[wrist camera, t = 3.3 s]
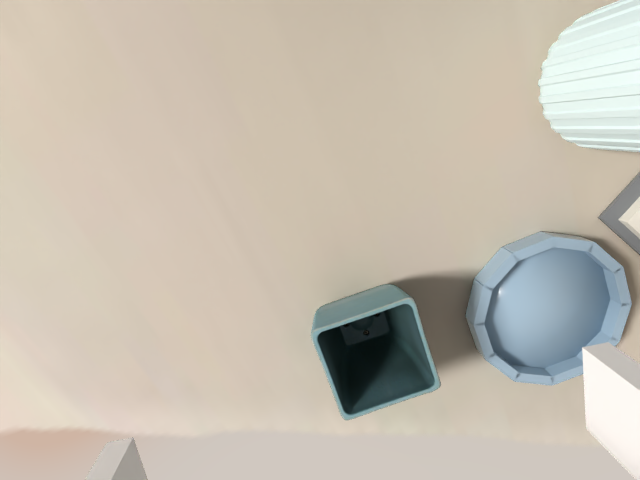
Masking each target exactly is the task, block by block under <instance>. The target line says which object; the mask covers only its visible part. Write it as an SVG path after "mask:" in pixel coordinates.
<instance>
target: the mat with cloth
mask: <svg viewBox="0 0 640 480" xmlns="http://www.w3.org/2000/svg"><path fill="white" fill-rule="evenodd" d="M598 218H599V219H600V220H601V221H602V222H603V223H604V224H606V225H607V226H608V227H609V228H610V229H611V230H612V231H613V232H615V233H616V234H617V235H618V236H619V237H620V238H621V239H622V240H623V241H625V242H626V243H627V244H628V245H629V246H630V247H631V248H632V249H634V250H635V251H636V252H637V253H638V254H639V255H640V172H639V173H638V175H637V176H636V177H635V178H634V179H633V180H632V181H631V182H630V183H629V184H628V185H627V187H626V188H625V189H624V190H623V191H622V192H621V193H620V194H619V195H618V196H617V197H616V199H615V200H614V201H613V202H612V203H611V204H610V205H609V206H608V207H607V208H606V209H605V211H604V212H603V213H602V214H601V215H600V216H599V217H598Z"/></svg>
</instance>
